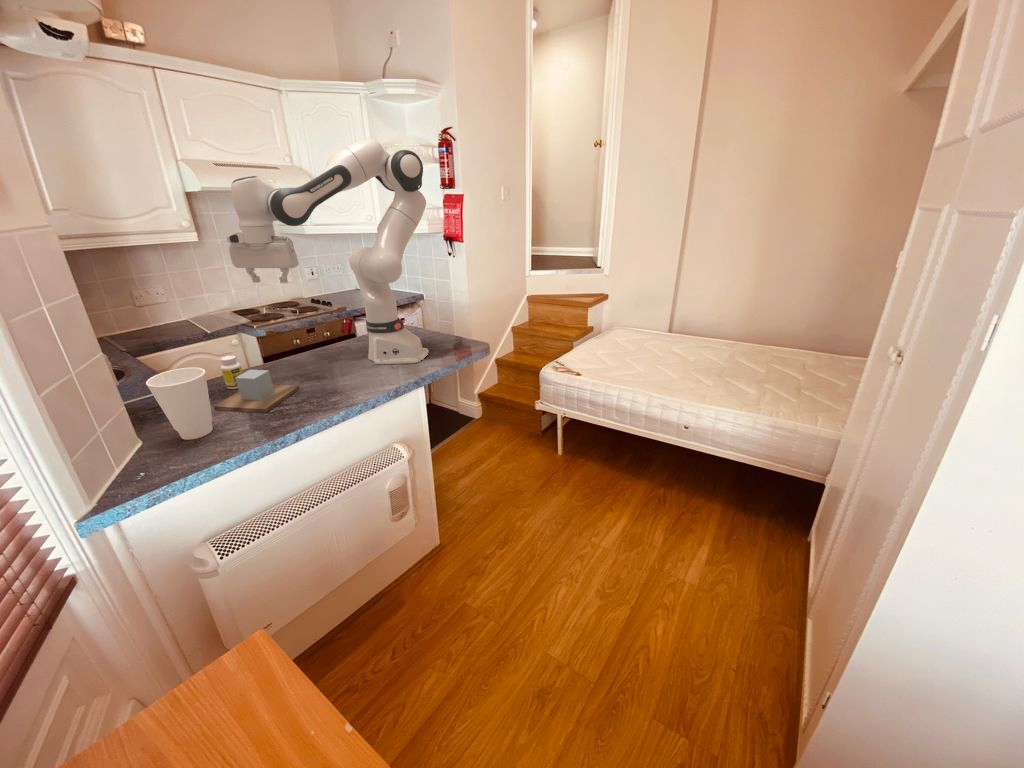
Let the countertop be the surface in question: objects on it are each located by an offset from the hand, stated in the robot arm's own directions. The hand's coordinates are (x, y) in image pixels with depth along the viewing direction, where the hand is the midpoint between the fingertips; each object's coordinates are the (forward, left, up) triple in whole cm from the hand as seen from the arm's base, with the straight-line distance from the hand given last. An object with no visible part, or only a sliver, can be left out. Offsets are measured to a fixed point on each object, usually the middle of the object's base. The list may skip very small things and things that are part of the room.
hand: (270, 282), depth 133 cm
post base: (-2, +20, -31) cm, 37 cm away
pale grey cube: (-2, +20, -30) cm, 36 cm away
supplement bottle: (+12, +12, -31) cm, 35 cm away
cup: (+1, +40, -31) cm, 51 cm away
